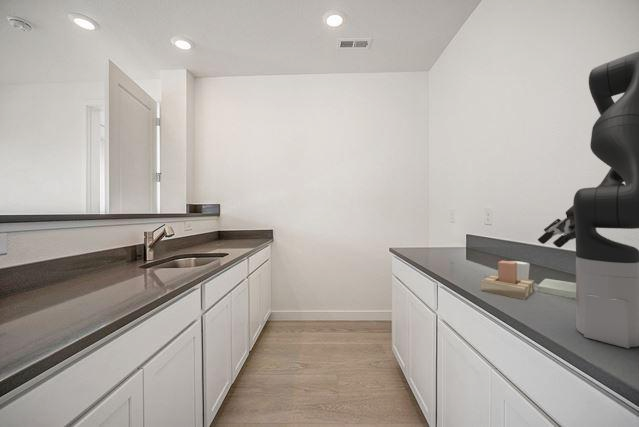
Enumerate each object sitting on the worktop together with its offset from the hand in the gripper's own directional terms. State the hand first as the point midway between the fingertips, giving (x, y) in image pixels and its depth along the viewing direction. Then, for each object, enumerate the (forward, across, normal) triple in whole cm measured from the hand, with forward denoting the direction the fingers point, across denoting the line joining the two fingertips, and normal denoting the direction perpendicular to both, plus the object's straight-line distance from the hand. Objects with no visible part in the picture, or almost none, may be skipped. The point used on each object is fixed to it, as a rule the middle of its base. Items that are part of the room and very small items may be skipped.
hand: (547, 243), depth 83 cm
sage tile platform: (+7, -2, +17) cm, 18 cm away
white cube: (+13, -17, +11) cm, 24 cm away
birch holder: (+20, 0, +3) cm, 20 cm away
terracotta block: (+20, 0, +3) cm, 20 cm away
